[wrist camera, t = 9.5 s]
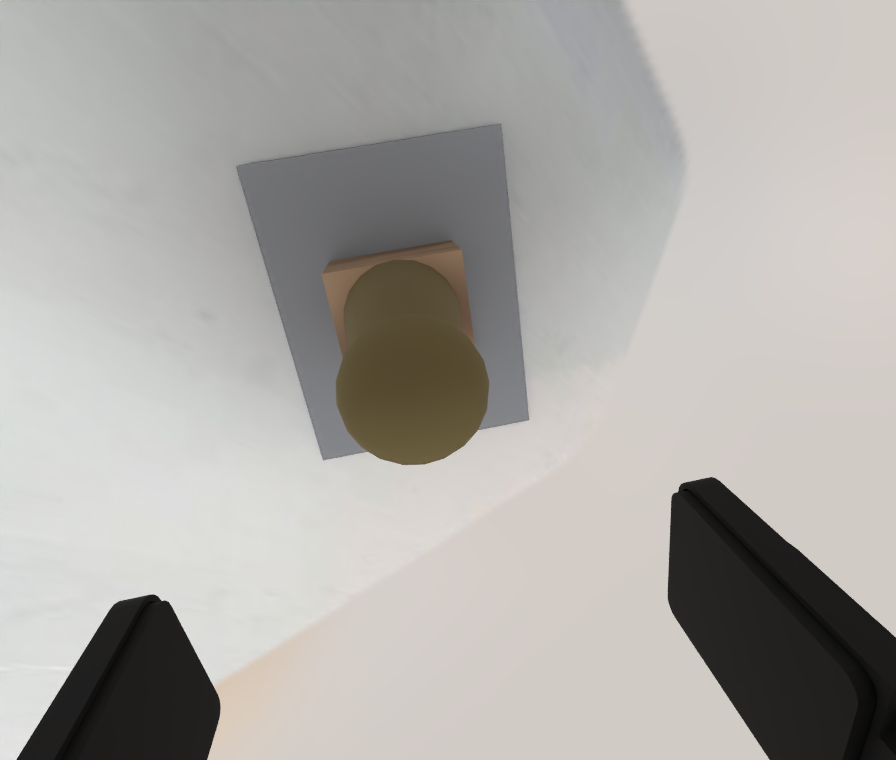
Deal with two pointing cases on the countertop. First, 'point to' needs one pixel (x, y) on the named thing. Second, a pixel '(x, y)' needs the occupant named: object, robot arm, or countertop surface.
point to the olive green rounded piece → (409, 366)
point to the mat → (385, 229)
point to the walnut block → (436, 255)
